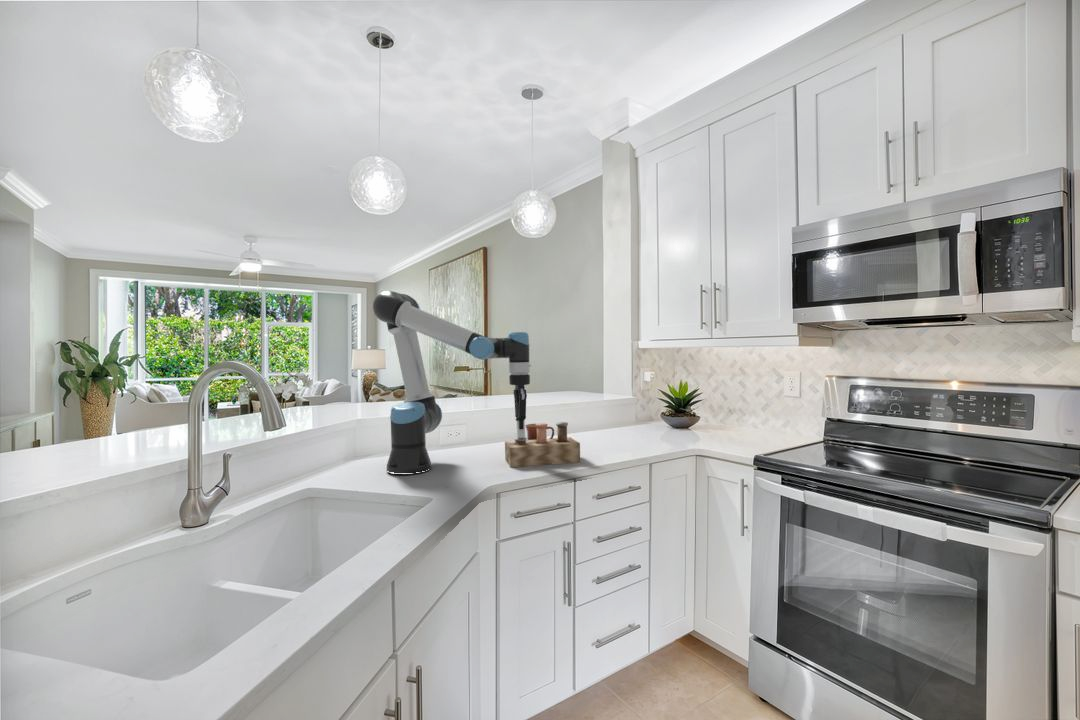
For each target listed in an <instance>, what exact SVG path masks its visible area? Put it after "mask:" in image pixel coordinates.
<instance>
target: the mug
mask: <svg viewBox="0 0 1080 720" xmlns="http://www.w3.org/2000/svg"><path fill="white" fill-rule="evenodd" d="M536 424H537V423H528V424H527V423H526V424H525V430H526V432H527V437H526V438H527V440H537V427H536ZM549 429H550V430H551V436H550V437H549V438H548V439H554V436H555V428H554V427H552V426H547V427H546V431H547V430H549Z"/></svg>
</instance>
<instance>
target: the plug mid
mask: <svg viewBox="0 0 1080 720" xmlns="http://www.w3.org/2000/svg"><path fill="white" fill-rule="evenodd" d="M535 424H536V427H537V444H543V443H547V439H548V438H547V430H546V427H548V423H546V422H545V423H542V422H541V423H535Z"/></svg>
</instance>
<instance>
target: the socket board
mask: <svg viewBox="0 0 1080 720" xmlns="http://www.w3.org/2000/svg"><path fill="white" fill-rule="evenodd" d="M504 457H505V458H504V460H505V462H506V463H507V465H508V466H509V468H520V467H533V466H544V465H545V466H546V465H547V466H548V465H549V466H550V465H557V464H558V465H560V464H572V463H573V464H574V463H581V442H579V441H577V440H575V439H573V438H572V437H567V442H559V443H558V437H557V438H554V437H553V438H552V439H549V438H547V443H543V444H537V440H526V445H516V441H515V440H510V441H509V440H508V441H504Z"/></svg>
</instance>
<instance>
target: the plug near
mask: <svg viewBox="0 0 1080 720" xmlns="http://www.w3.org/2000/svg"><path fill="white" fill-rule="evenodd" d="M526 440H527V437H526V436H525V438H517V437H514V441H516V445H526Z"/></svg>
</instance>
